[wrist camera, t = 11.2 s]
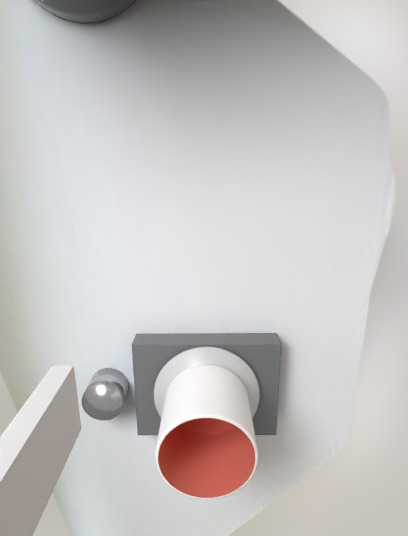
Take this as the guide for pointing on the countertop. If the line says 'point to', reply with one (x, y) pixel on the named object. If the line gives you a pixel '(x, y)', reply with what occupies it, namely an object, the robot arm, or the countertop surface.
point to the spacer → (105, 394)
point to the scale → (206, 353)
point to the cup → (206, 434)
